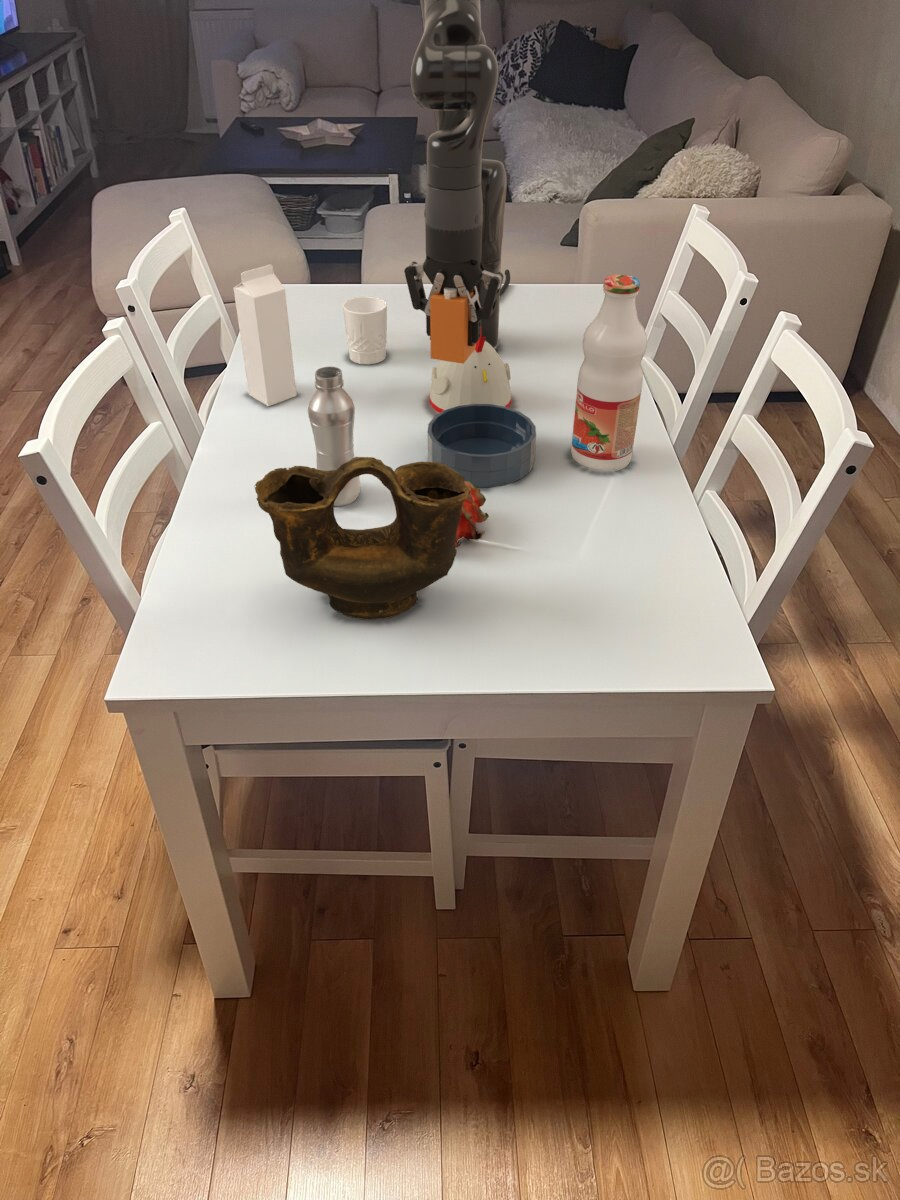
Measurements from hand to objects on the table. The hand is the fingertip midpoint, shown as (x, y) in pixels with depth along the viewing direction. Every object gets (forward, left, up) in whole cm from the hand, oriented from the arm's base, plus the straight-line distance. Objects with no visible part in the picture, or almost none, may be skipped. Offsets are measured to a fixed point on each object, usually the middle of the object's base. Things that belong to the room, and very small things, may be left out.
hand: (453, 340), depth 134 cm
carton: (0, 0, -2) cm, 2 cm away
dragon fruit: (+20, +8, -19) cm, 29 cm away
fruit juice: (-8, +22, -19) cm, 30 cm away
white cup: (-29, -27, -19) cm, 44 cm away
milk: (-9, -36, -19) cm, 42 cm away
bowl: (0, +5, -19) cm, 20 cm away
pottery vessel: (+36, +2, -19) cm, 41 cm away
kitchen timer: (-18, -3, -19) cm, 26 cm away
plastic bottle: (+17, -11, -19) cm, 28 cm away
